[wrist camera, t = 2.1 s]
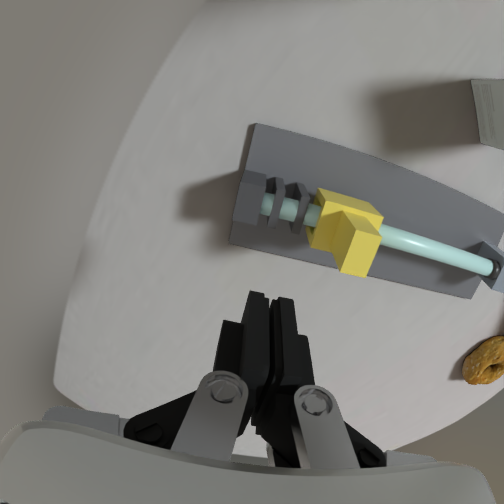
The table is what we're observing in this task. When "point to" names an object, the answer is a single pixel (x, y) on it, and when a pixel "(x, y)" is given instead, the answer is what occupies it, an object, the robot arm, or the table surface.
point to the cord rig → (381, 198)
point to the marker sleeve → (346, 231)
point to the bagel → (485, 362)
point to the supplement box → (490, 110)
